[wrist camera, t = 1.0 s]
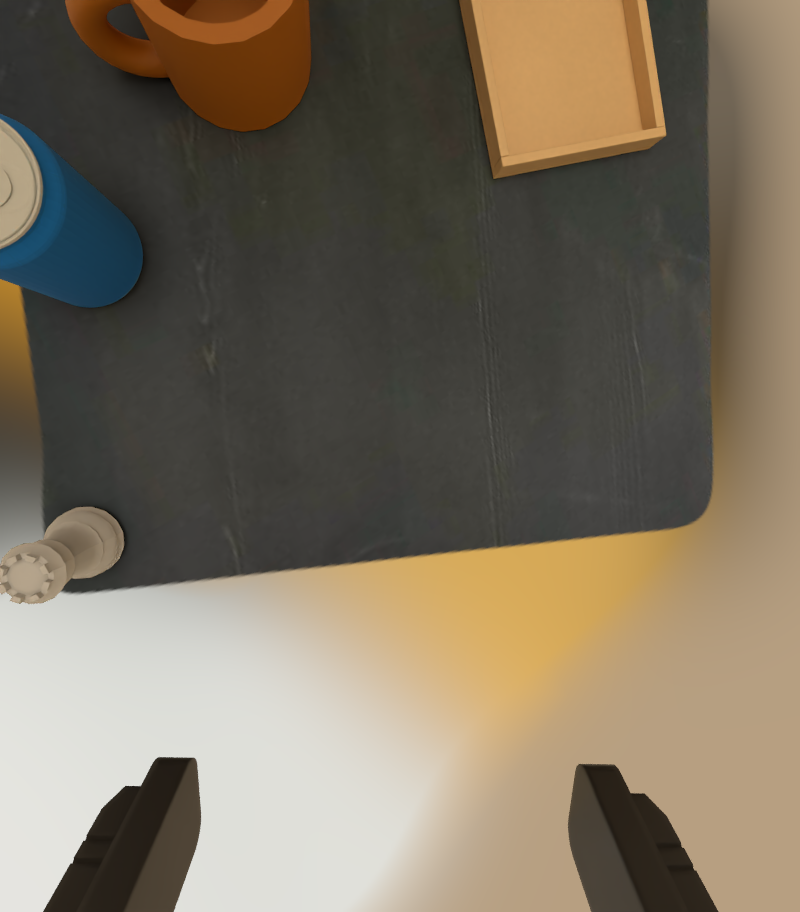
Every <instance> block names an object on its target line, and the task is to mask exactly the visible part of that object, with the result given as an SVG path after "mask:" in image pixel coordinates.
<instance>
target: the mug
mask: <svg viewBox="0 0 800 912" xmlns="http://www.w3.org/2000/svg"><path fill="white" fill-rule="evenodd" d="M65 4H66V8H67V11H68V15H69V19H70V21H71V23H72V25H73V27H74V29H75V30H76V32H77V33H78V35H79V37H80V38H81V40H82V41H83V42H84V43H85V44H86V45H87V46H88V47H89V48H90V49H91V50H92V51H93V52H94V53H95V54H96V55H97V56H99V57H100V58H102V59H103V60H105V61H106V62H107V63H109V64H110V65H112V66H115V67H117V68H119V69H121V70H123V71H125V72H129V73H132V74H136V75H139V76H144V77H153V78H165V77H169V78H170V80H171V82H172V84H173V86H174V87H175V89H176V91H177V93H178V95H179V96H180V98H181V99H182V100H183V101H184V102H185V103H186V104H187V105H188V106H189V107H190V108H191V109H192V110H193V111H194V112H195V113H196V114H197V115H198V116H200V117H202V118H203V119H205V120H207V121H209V122H211V123H213V124H214V125H216V126H218V127H221V128H226V129H231V130H236V131H241V132H245V131H252V130H260V129H266V128H267V127H269V126H271V125H273V124H275V123H277V122H279V121H281V120H283V119H285V118H286V117H287V116H288V115H289V113H290V112H291V111H292V110H293V109H294V108H295V107H296V106H297V105H298V104H299V103H300V101H301V98H302V96H303V94H304V92H305V89H306V87H307V85H308V83H309V76H310V67H311V38H310V17H309V0H65ZM123 4H132V6H133V8H134V10H135V12H136V14H137V16H138V18H139V20H140V22H141V24H142V26H143V28H144V30H145V31H146V33H147V35H148V37H149V39H150V40H142V39H137V38H134V37H131V36H128V35H126V34H124V33H122V32H120V31H118V30H117V29H116V28H114V27H113V26H112V25H111V24H110V23H109V22H108V21H107V18H106V17H107V13H108V12H109V11H110V10H112V9H113V8H115V7H116V6H119V5H123Z"/></svg>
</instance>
